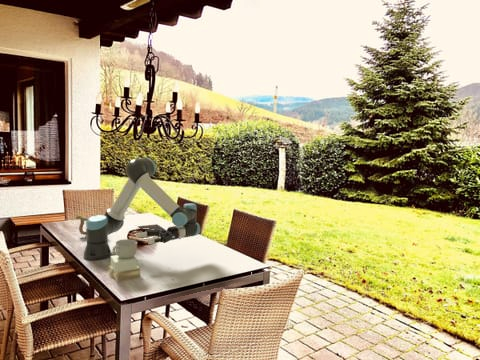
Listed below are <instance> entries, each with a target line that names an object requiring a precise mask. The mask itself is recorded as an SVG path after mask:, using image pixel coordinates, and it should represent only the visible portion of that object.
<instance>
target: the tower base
mask: <svg viewBox="0 0 480 360" xmlns="http://www.w3.org/2000/svg"><path fill="white" fill-rule="evenodd" d="M141 268H142V267H140V266H138V265H137V269H134V270H127V271H120V272H115V271H114V270H113V268H112V266H111V265H108V275H109V276H110V277H111V278H113V279H114V280H115V281H117V283H118V282H124V281H127V280H131V279H135V278H139V277H141V275H142V274H141V271H142V270H141Z"/></svg>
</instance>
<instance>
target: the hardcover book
mask: <svg viewBox="0 0 480 360" xmlns="http://www.w3.org/2000/svg"><path fill="white" fill-rule="evenodd" d="M138 228H140V229H143V228H149V229H154V230H160V229H163V230H166V231H167V229H165V228H163V226H160V225H159V224H158V223H157V224H156V223H155V224H148V225H138V226H137V229H138Z"/></svg>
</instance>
